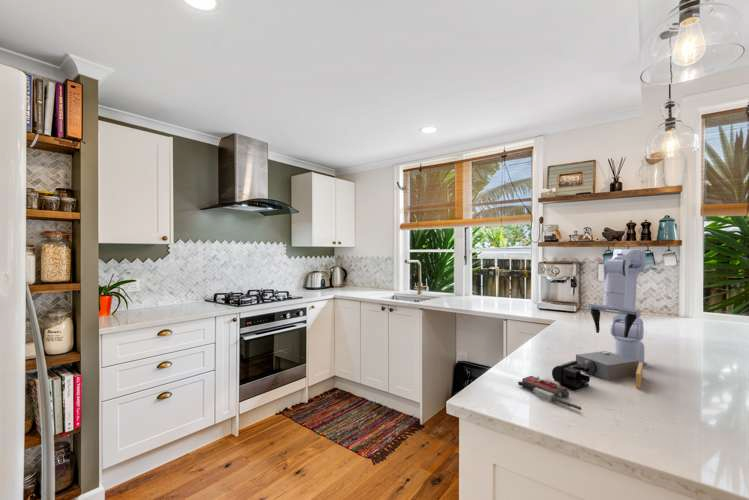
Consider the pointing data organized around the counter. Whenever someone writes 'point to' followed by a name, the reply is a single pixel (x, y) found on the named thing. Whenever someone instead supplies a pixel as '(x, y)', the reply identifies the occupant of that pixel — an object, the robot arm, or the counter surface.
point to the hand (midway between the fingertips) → (611, 335)
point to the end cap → (571, 375)
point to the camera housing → (608, 365)
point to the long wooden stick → (639, 375)
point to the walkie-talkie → (547, 390)
